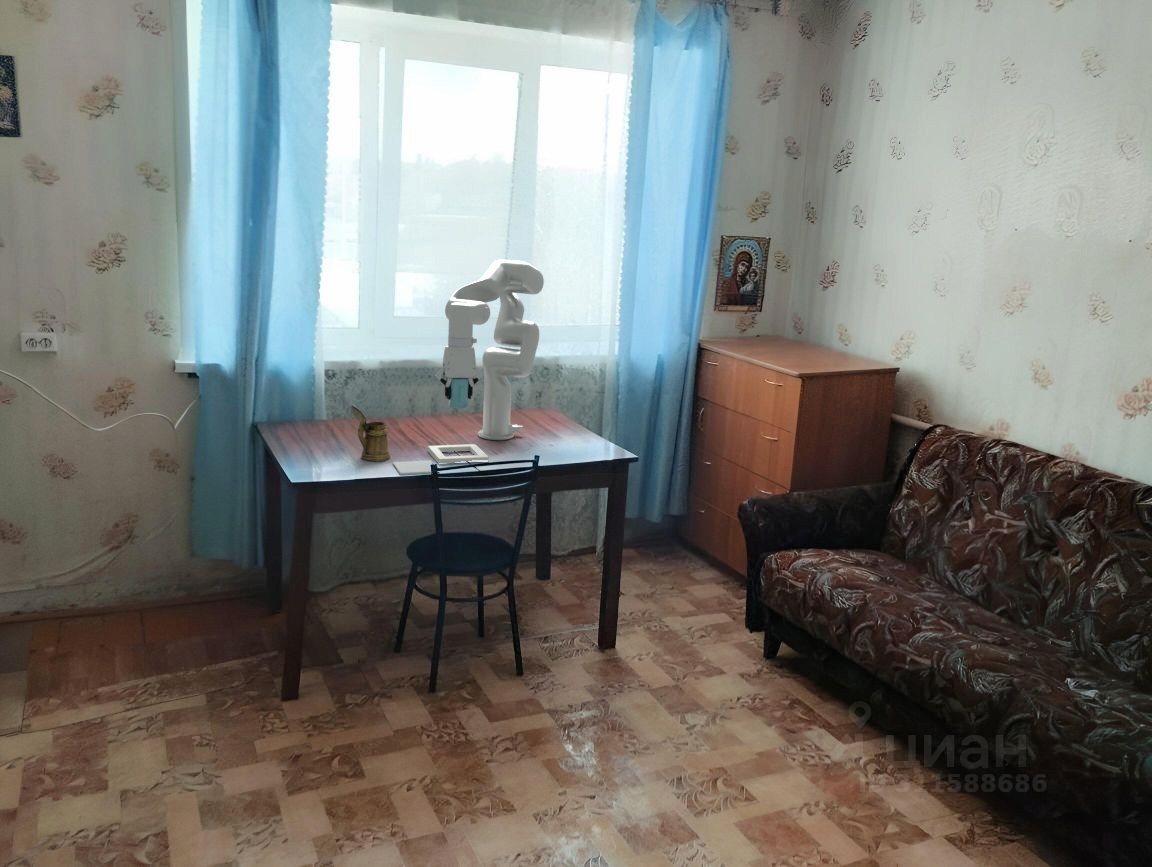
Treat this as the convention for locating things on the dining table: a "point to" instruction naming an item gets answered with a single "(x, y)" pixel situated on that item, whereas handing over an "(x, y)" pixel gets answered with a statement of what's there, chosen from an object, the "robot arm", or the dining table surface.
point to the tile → (413, 467)
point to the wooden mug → (372, 438)
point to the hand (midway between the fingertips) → (458, 397)
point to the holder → (440, 458)
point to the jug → (459, 393)
